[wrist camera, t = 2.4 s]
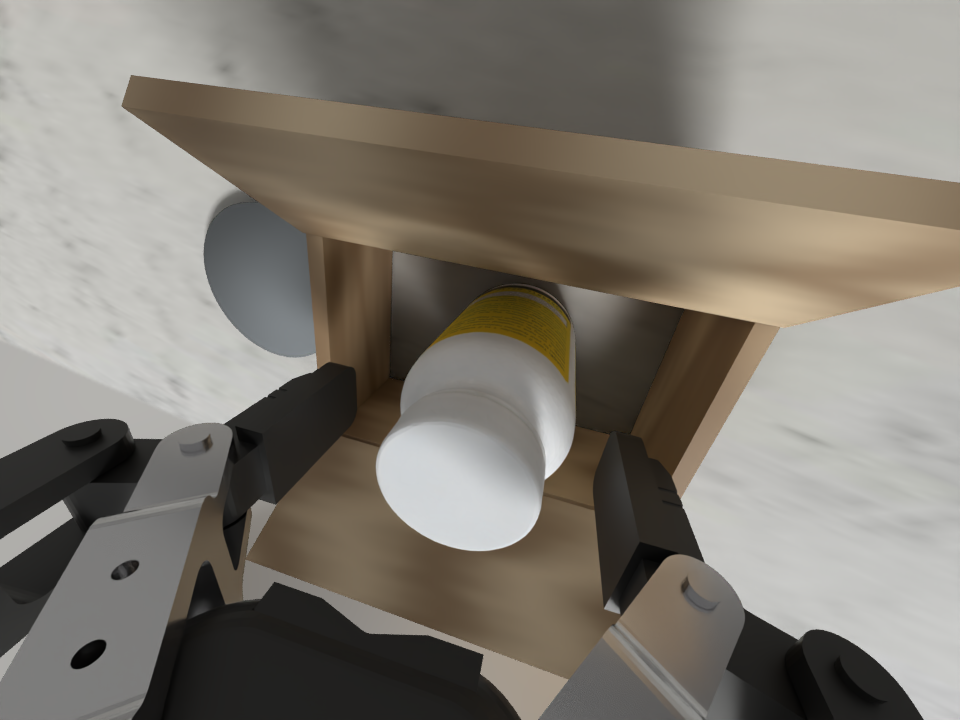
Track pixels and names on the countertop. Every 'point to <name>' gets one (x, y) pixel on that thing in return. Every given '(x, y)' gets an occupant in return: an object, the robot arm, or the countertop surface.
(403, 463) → the supplement bottle
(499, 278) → the countertop surface
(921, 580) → the countertop surface
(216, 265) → the coaster
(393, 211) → the carton
